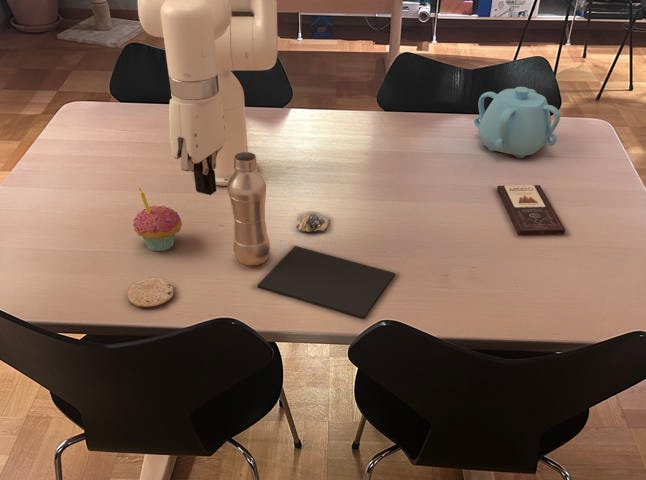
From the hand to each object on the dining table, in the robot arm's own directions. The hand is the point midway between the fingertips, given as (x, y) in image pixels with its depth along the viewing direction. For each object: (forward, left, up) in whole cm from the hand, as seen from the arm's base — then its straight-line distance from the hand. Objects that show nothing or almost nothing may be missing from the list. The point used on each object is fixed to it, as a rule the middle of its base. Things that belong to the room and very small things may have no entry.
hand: (206, 191), depth 125 cm
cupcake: (-10, -3, -12) cm, 16 cm away
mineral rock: (+12, +16, -12) cm, 24 cm away
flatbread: (-2, -17, -12) cm, 21 cm away
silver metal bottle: (+8, 0, -12) cm, 15 cm away
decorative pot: (+38, +68, -12) cm, 79 cm away
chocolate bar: (+49, +40, -12) cm, 65 cm away
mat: (+23, 0, -12) cm, 26 cm away
